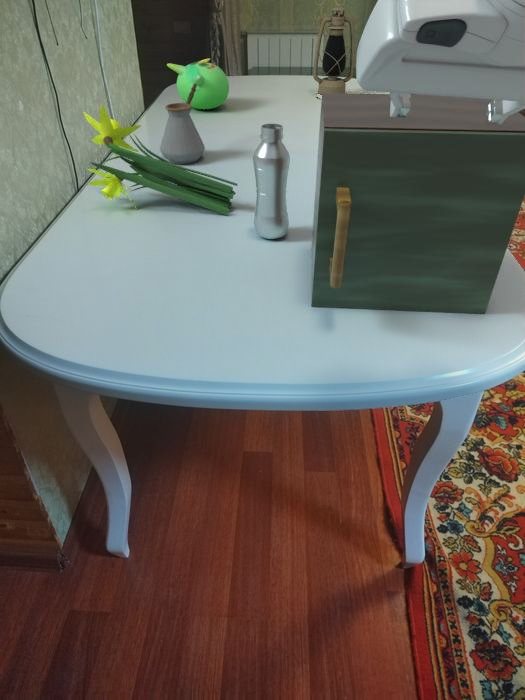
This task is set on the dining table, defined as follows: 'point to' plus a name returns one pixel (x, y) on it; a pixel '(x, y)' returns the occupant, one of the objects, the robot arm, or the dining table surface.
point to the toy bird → (202, 84)
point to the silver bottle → (271, 183)
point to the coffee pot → (181, 134)
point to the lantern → (334, 52)
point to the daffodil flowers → (154, 170)
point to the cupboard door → (415, 218)
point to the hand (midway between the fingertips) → (445, 114)
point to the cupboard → (403, 122)
